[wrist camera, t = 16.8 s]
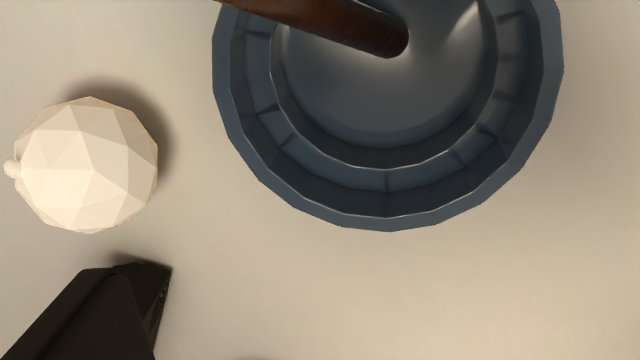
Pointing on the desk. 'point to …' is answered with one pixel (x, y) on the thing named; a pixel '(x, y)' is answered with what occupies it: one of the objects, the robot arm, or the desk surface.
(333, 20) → the stirring stick
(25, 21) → the desk surface
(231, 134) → the mixing bowl
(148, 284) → the handheld gaming console
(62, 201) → the ornament
